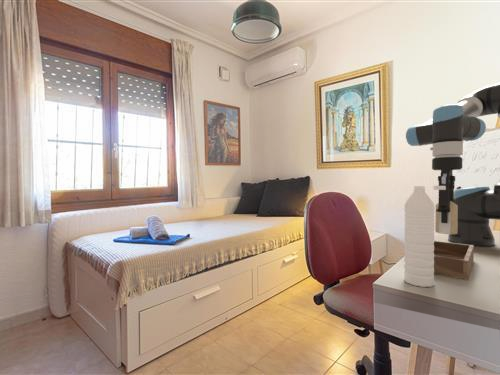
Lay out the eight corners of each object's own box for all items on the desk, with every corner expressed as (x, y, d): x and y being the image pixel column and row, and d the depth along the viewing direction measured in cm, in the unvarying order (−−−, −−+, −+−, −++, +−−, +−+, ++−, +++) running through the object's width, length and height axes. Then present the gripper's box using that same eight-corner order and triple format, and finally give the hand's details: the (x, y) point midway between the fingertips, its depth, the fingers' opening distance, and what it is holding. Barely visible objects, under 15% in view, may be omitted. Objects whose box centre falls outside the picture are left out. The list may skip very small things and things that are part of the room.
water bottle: (403, 284, 68) (403, 186, 68) (405, 276, 74) (405, 185, 73) (445, 291, 64) (446, 186, 63) (444, 282, 69) (444, 185, 68)
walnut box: (429, 254, 96) (429, 240, 96) (473, 260, 88) (473, 245, 88) (415, 270, 79) (415, 253, 79) (468, 280, 71) (468, 261, 71)
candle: (461, 234, 80) (461, 201, 80) (440, 234, 81) (440, 201, 81) (451, 231, 85) (451, 200, 85) (432, 230, 86) (432, 199, 86)
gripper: (437, 159, 92) (436, 227, 92) (426, 155, 78) (425, 235, 79) (465, 158, 87) (464, 229, 87) (459, 153, 73) (458, 238, 74)
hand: (446, 232), depth 83 cm, fingers closed on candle, 5 cm apart
